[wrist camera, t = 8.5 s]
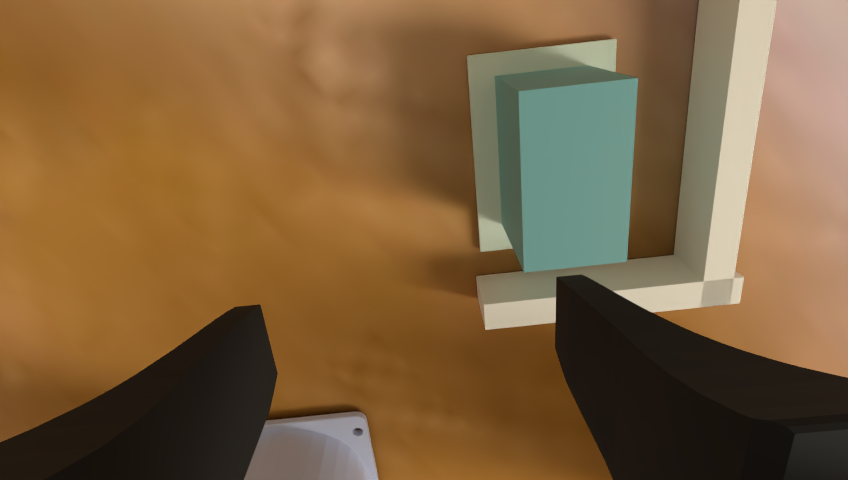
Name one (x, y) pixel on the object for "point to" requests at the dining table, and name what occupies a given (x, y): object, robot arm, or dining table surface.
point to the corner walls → (699, 192)
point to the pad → (485, 116)
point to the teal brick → (566, 165)
